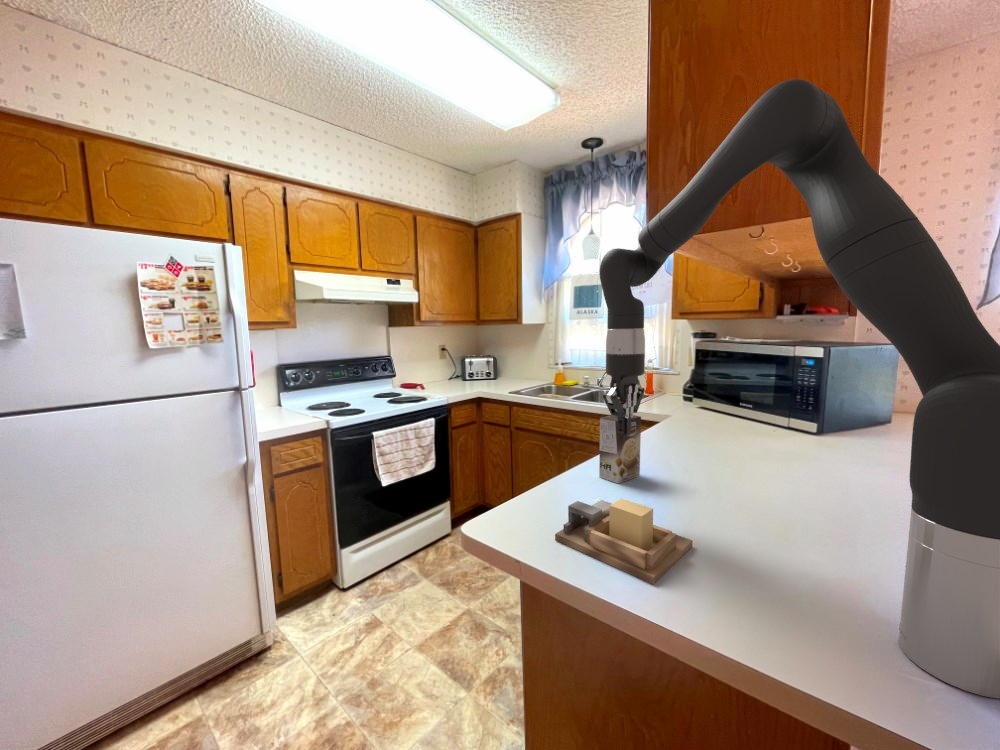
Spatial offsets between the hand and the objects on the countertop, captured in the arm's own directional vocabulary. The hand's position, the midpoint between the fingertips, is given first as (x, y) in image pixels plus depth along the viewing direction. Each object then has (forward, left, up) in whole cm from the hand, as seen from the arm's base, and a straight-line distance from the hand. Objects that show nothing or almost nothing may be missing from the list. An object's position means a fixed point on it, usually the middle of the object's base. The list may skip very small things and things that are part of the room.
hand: (624, 435), depth 84 cm
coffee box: (+11, -18, -17) cm, 28 cm away
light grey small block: (0, +8, -16) cm, 18 cm away
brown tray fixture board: (-6, +11, -17) cm, 21 cm away
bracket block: (-9, +13, -16) cm, 22 cm away
